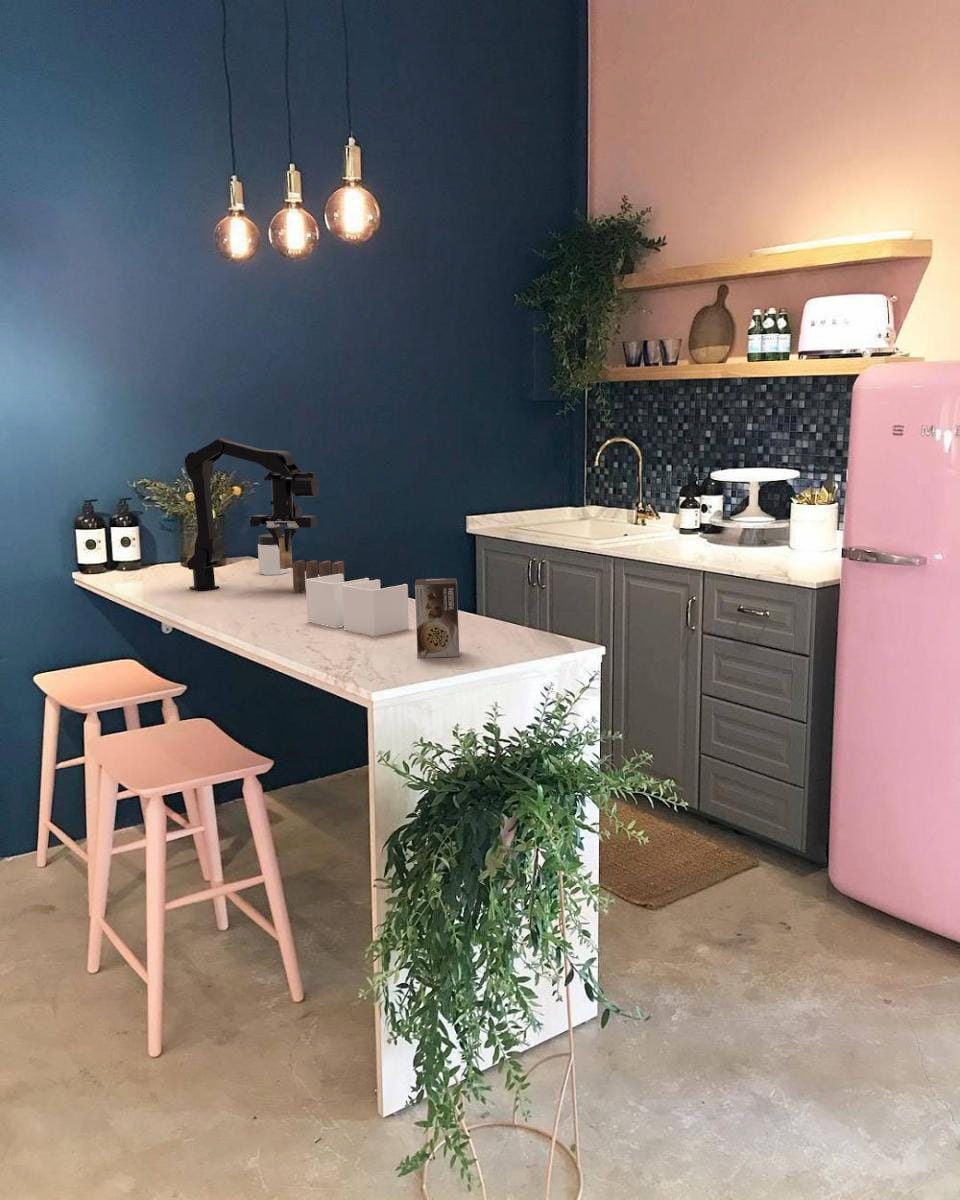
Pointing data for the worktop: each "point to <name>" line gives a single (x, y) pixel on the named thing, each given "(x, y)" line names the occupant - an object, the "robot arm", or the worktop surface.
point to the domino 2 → (299, 576)
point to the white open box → (357, 605)
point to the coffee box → (437, 618)
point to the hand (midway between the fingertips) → (284, 551)
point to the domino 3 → (312, 569)
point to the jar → (269, 556)
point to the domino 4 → (325, 568)
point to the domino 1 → (284, 554)
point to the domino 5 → (338, 568)
